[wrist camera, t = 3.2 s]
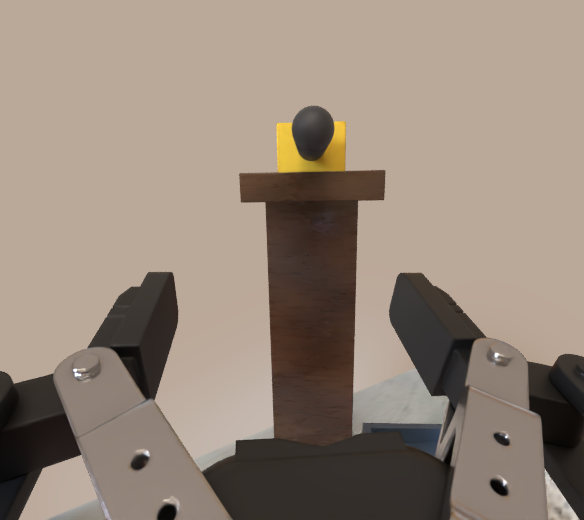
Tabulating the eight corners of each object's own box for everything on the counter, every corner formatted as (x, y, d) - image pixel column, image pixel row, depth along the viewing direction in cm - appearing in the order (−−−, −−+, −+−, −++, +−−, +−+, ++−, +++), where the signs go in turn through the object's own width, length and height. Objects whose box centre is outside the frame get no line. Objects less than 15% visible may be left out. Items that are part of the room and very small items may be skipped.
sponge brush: (258, 168, 15) (254, 84, 14) (283, 174, 31) (282, 134, 30) (369, 166, 15) (372, 80, 14) (338, 173, 30) (338, 132, 30)
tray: (408, 661, 22) (410, 634, 22) (362, 440, 41) (362, 422, 41) (589, 670, 22) (596, 643, 21) (457, 441, 41) (459, 424, 40)
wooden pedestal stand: (258, 535, 30) (239, 173, 23) (268, 463, 38) (256, 175, 31) (369, 539, 30) (385, 170, 23) (356, 465, 38) (365, 172, 30)
